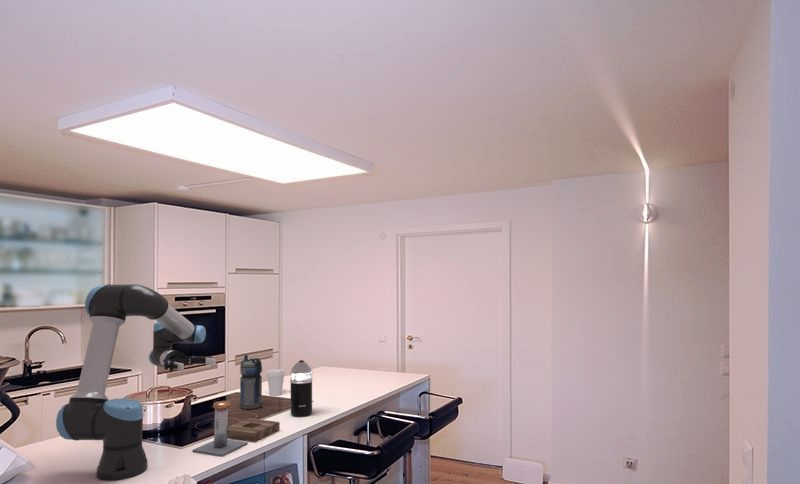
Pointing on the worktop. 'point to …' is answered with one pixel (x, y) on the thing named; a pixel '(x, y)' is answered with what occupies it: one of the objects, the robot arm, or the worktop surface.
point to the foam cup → (275, 381)
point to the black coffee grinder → (301, 389)
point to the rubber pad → (211, 450)
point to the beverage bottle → (250, 383)
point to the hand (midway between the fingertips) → (199, 364)
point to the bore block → (252, 429)
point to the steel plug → (221, 423)
